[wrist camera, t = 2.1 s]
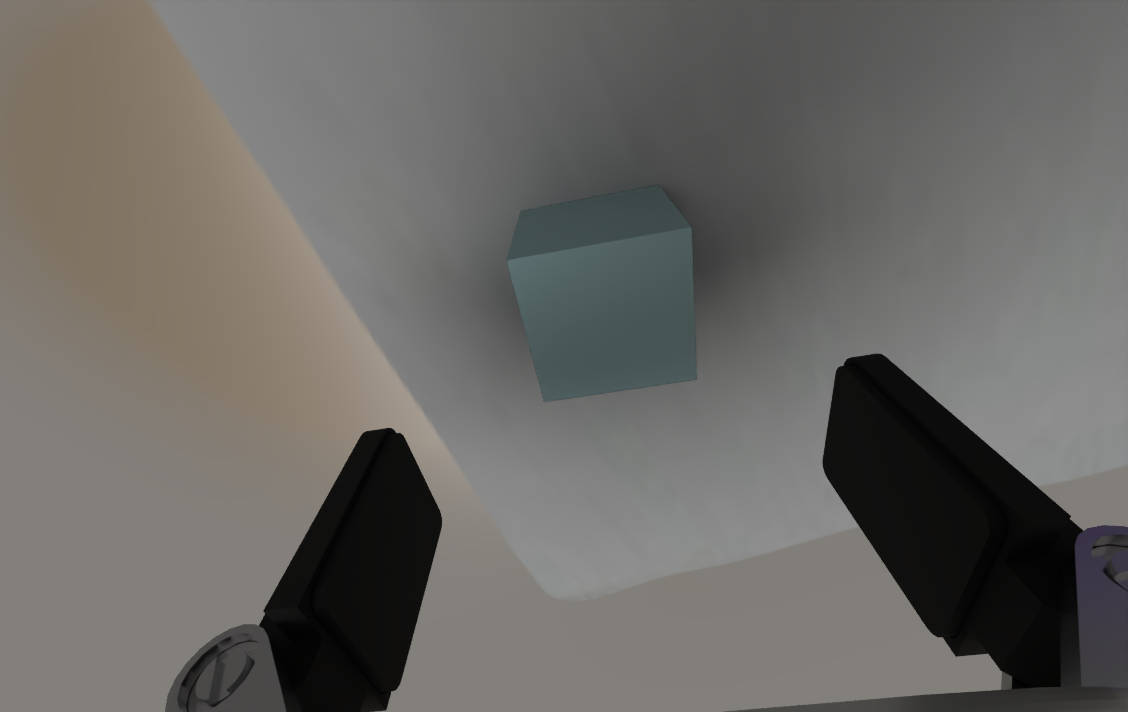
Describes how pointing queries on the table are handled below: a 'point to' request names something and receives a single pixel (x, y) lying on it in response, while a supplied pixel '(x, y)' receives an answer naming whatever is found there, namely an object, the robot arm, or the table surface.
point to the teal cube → (606, 293)
